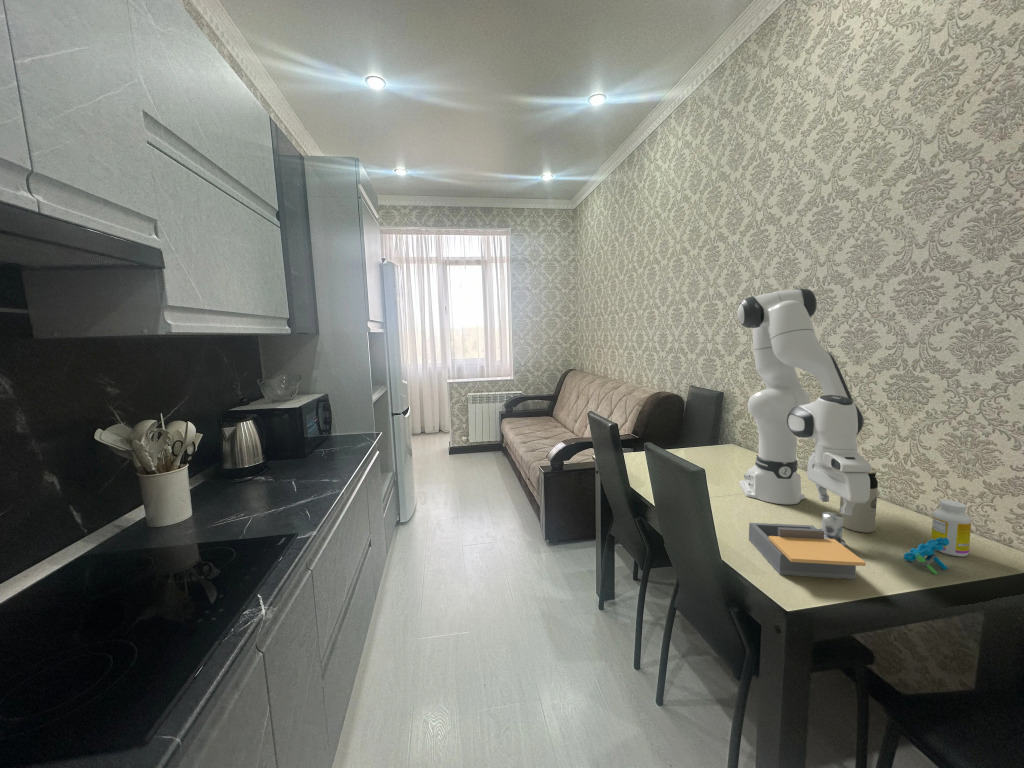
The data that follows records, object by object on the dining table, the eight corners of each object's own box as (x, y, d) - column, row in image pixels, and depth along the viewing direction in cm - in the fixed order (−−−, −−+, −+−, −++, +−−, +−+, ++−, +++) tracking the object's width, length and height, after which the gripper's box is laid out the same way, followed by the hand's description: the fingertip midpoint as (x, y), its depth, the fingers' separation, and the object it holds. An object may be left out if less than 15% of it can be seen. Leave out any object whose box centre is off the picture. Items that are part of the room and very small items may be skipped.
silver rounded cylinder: (812, 537, 112) (813, 510, 111) (836, 538, 111) (837, 510, 110) (825, 548, 106) (827, 519, 105) (850, 549, 105) (852, 520, 104)
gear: (909, 544, 104) (949, 530, 97) (931, 566, 101) (974, 553, 94) (892, 561, 99) (934, 548, 91) (915, 585, 96) (960, 573, 88)
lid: (766, 537, 102) (767, 526, 102) (831, 540, 100) (832, 529, 99) (791, 561, 90) (791, 550, 90) (865, 566, 88) (866, 554, 88)
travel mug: (832, 523, 120) (835, 465, 118) (850, 519, 122) (854, 462, 120) (862, 535, 112) (866, 473, 111) (881, 530, 115) (885, 470, 113)
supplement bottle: (968, 551, 103) (972, 503, 102) (968, 560, 99) (973, 510, 97) (930, 542, 108) (934, 496, 107) (929, 550, 104) (933, 503, 102)
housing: (748, 539, 111) (749, 522, 111) (811, 542, 109) (812, 525, 108) (779, 574, 95) (780, 554, 94) (854, 579, 92) (856, 558, 92)
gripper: (800, 447, 117) (800, 493, 118) (847, 467, 97) (846, 522, 97) (824, 447, 116) (824, 494, 117) (876, 467, 95) (875, 523, 96)
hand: (834, 507), depth 107 cm, fingers open, 8 cm apart
